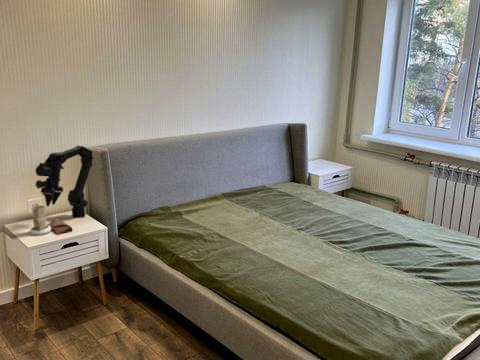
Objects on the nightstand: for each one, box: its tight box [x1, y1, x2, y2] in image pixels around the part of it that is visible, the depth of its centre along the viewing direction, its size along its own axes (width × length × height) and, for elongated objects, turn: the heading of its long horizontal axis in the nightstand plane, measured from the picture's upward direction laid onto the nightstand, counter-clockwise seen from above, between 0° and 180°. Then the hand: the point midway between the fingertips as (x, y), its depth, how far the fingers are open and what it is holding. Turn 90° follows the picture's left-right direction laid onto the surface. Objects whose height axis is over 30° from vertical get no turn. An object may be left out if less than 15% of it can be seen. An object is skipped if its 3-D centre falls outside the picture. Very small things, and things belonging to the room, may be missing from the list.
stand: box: [29, 226, 52, 236], centre depth 244 cm, size 10×10×2 cm
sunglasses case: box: [47, 217, 73, 236], centre depth 249 cm, size 18×7×7 cm, turn 45°
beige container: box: [31, 204, 48, 231], centre depth 242 cm, size 5×6×12 cm
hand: (50, 205), depth 248 cm, fingers open, 9 cm apart
